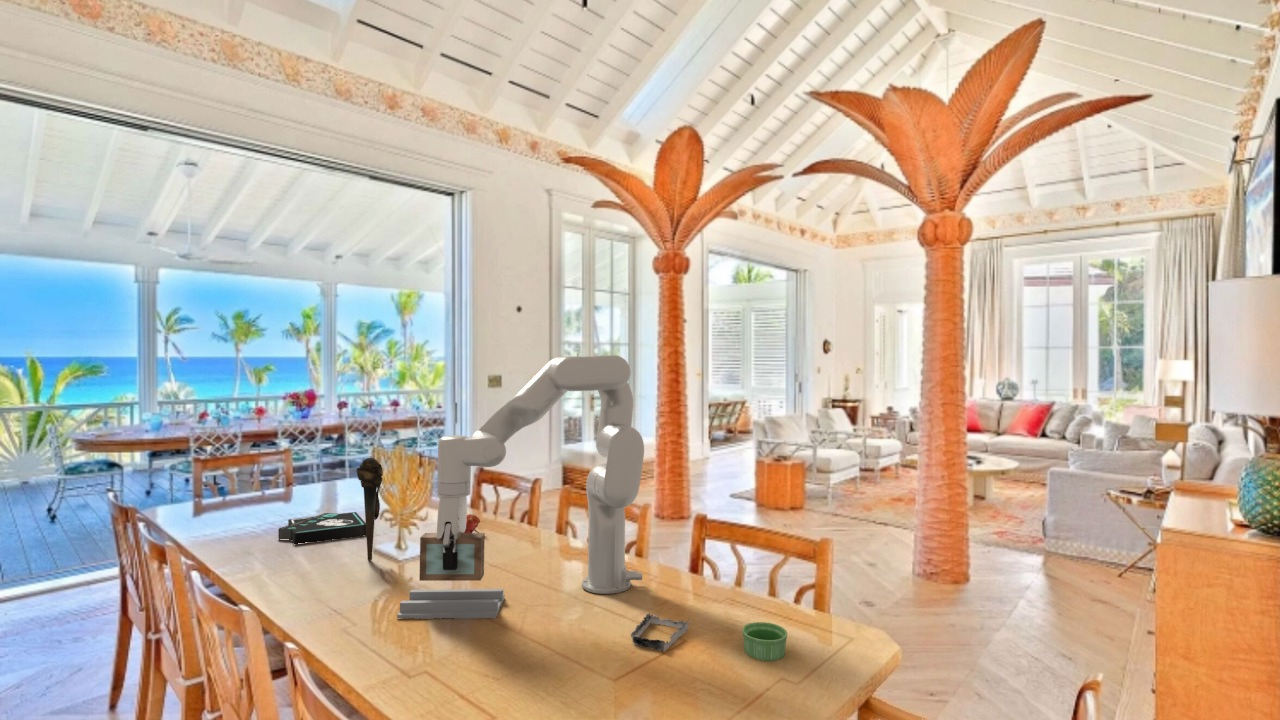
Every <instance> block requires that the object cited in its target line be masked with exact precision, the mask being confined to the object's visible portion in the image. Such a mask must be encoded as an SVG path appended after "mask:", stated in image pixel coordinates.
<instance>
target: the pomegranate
mask: <svg viewBox="0 0 1280 720" xmlns="http://www.w3.org/2000/svg"><path fill="white" fill-rule="evenodd" d="M480 523H481V519H480V517H478V516H477V515H476V514H470V513H469V514H467V521H466V530H465V532H464V533H474V532H475V533H480V532H479V531H478V530H476V528H478V526H479V524H480Z"/></svg>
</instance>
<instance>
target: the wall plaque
mask: <svg viewBox="0 0 1280 720" xmlns="http://www.w3.org/2000/svg"><path fill="white" fill-rule="evenodd" d="M363 535H366V521H365V520H363V519H362V517H361V516H360V515H359V513H358V512H356V511H354V512H343V513H335V512H334V513H330V512H324V513H321V514H319V515H315V516H307V517H306V516H305V517H300V518H299V517H298V518H290V519H288V522H287V525H284V526H282V527H279V528H278V535H277V536H278V538H279V539H289V540H293V541H292V544H293V543H294V544H298V543H305V542H315V543H318V542H317V541H322V542H326V541H325V540H330V541H333V540H332V539H337V540H343V539H342V538H345V539H349V538H350V539H351V537H352V538H358V537H357V536H360V537H364V536H363ZM294 544H293V545H294Z"/></svg>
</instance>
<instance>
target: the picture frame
mask: <svg viewBox="0 0 1280 720" xmlns="http://www.w3.org/2000/svg"><path fill="white" fill-rule="evenodd" d="M453 537H454V536H451V537H450V539H454V538H453ZM419 538H420V539H419V540H420V541H419V581H420V582H421V581H422V582H423V581H425V582H426V581H427V582H429V581H431V582H433V581H434V582H437V581H438V582H439V581H440V582H443V581H452V582H453V581H454V582H459V581H460V582H461V581H463V582H464V581H471V582H472V581H473V582H475V581H477V582H479V581H481V580H482V578H483V577H484V576H485V532H479V533H477V532H472V533H463V534H462V535H461V536H460V537H459V538H458V539H457V546H456V552H458V557H457V569H456V570H443V540H444V536H443V537H442V539H441V540H438V539H437V532H425V533H423V534H422V535H421V536H420V537H419ZM450 543H452V544H453V542H450Z"/></svg>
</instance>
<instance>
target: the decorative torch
mask: <svg viewBox="0 0 1280 720" xmlns="http://www.w3.org/2000/svg"><path fill="white" fill-rule="evenodd" d="M383 472H384V471H383V467H382V464H380V463H379V461H378V460H377V459H376V458H375V457H367V458H365V459H362V462H361V463H360V465H359V467H358V468H356V475H357V479H358V480H359V481H360V485H361V488H363V502H364V514H365V515H364V518H365V520H364V521H365V523H366V536H365V537H366V551H367V555H366V556H367V561H368V562H372V560H373V546H374V533H375V521H376V520H377V519H378V518H379V517H380V510H381V508H380V507H381V503H380V497H379V490H380V488H381V484H382V483H383V474H384V473H383Z"/></svg>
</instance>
